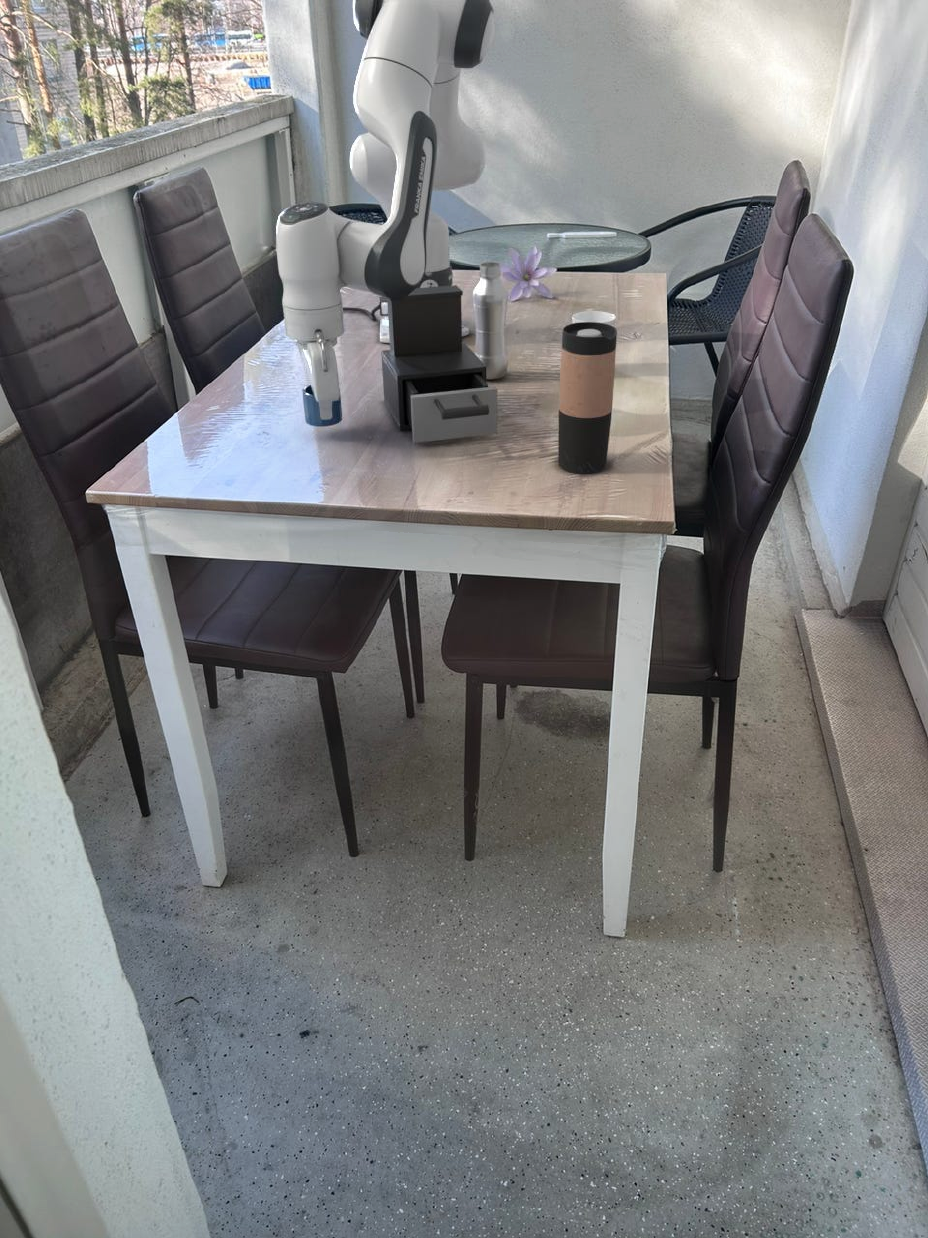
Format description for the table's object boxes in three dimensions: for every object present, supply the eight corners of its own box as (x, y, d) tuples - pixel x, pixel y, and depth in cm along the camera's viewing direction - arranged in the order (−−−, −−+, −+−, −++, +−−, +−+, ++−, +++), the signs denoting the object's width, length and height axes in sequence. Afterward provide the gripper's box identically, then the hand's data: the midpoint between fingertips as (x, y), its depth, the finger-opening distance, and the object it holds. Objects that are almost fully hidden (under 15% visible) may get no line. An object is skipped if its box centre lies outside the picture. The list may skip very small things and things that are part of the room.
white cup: (610, 378, 174) (614, 323, 168) (567, 376, 175) (570, 321, 170) (613, 365, 180) (617, 311, 175) (572, 363, 182) (574, 309, 176)
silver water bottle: (512, 373, 177) (513, 261, 166) (501, 384, 172) (502, 269, 161) (479, 370, 179) (478, 259, 168) (467, 381, 174) (466, 267, 163)
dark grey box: (486, 420, 157) (486, 366, 152) (400, 430, 154) (397, 375, 149) (465, 393, 168) (464, 342, 163) (384, 402, 165) (381, 350, 160)
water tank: (388, 349, 160) (385, 290, 155) (457, 343, 163) (456, 284, 158) (393, 357, 157) (390, 296, 152) (463, 350, 160) (462, 290, 154)
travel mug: (552, 455, 145) (557, 322, 134) (602, 452, 145) (611, 320, 134) (561, 476, 138) (567, 338, 127) (612, 473, 139) (623, 336, 128)
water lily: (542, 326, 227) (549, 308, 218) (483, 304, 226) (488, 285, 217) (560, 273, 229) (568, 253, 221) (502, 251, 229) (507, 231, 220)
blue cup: (303, 415, 153) (300, 385, 150) (339, 411, 154) (336, 381, 151) (307, 428, 148) (304, 397, 145) (344, 424, 149) (342, 393, 147)
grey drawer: (509, 449, 145) (509, 402, 141) (423, 459, 142) (421, 412, 138) (476, 406, 160) (475, 364, 156) (398, 415, 157) (395, 372, 153)
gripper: (345, 340, 135) (353, 431, 142) (326, 302, 151) (334, 386, 159) (301, 344, 134) (311, 436, 141) (286, 305, 150) (296, 390, 158)
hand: (323, 409), depth 150 cm, fingers closed on blue cup, 6 cm apart
